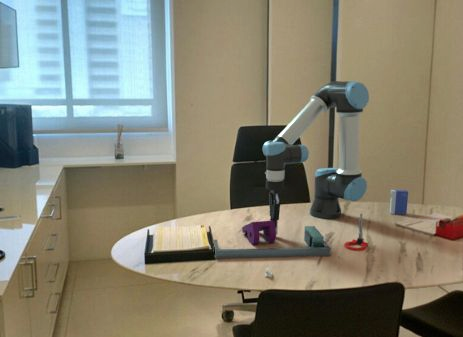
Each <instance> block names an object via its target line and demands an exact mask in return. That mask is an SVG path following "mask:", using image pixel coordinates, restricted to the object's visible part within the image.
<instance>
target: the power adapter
mask: <svg viewBox="0 0 463 337" xmlns="http://www.w3.org/2000/svg"><path fill="white" fill-rule="evenodd" d="M273 276H274V273H273V272H271V269H270V268H269V267H267V268H266V271H265V275H264V277H265V278H267V277H269V278H272V277H273Z"/></svg>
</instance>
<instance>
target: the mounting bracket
mask: <svg viewBox="0 0 463 337" xmlns="http://www.w3.org/2000/svg"><path fill="white" fill-rule="evenodd" d="M241 229H242V233H243V234H247V239H248V242H249V244H250V245H252V246H253V245H258V244H259V243H260V239H261V238H260V237H261V235H260V232H262V231H263V238H264V240H265V242H266V243H267V244H274V243H275V242H276V239H277V235H276V229H275V222H274V220H273V221H271V220H263V221H252V222H250V223H247V224H246V225H244V226H242V227H241Z"/></svg>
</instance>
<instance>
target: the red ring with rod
mask: <svg viewBox="0 0 463 337" xmlns="http://www.w3.org/2000/svg"><path fill="white" fill-rule="evenodd" d="M363 220H364V219H363V214H362V213H360V217H359V223H358V224H359V230H358V238H356V239H352V241H346V242H344V246H343V247H344V248H345V249H347V250H350V251H355V252H359V251H360V250H361V251H364V250H366V248H367V247H369V243H368V242H365V241H364V238H363V234H364V232H363V224H364V223H363ZM351 245H359V246H360V247H353V246H351Z"/></svg>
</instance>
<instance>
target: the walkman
mask: <svg viewBox="0 0 463 337" xmlns="http://www.w3.org/2000/svg"><path fill="white" fill-rule="evenodd" d="M408 199H409V191H408V190H406V189H401V190H400V189H391V190H390V200H389V201H390V202H389V214H390V215H407V212H408V210H407V209H408Z"/></svg>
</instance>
